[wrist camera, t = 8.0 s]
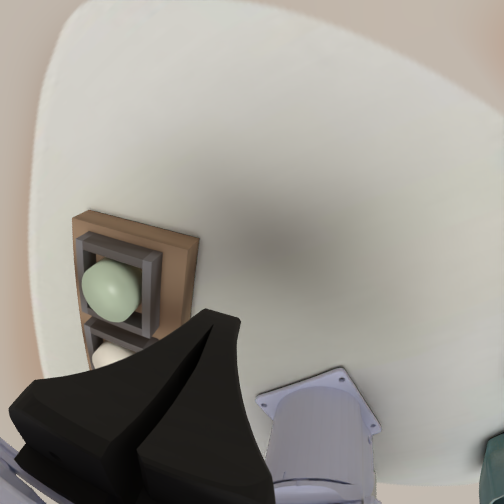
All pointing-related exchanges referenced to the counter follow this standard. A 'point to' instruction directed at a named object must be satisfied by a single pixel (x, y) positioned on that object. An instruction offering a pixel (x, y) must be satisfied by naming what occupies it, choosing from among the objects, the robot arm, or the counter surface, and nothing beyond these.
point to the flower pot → (493, 472)
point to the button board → (153, 278)
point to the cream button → (109, 354)
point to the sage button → (113, 289)
